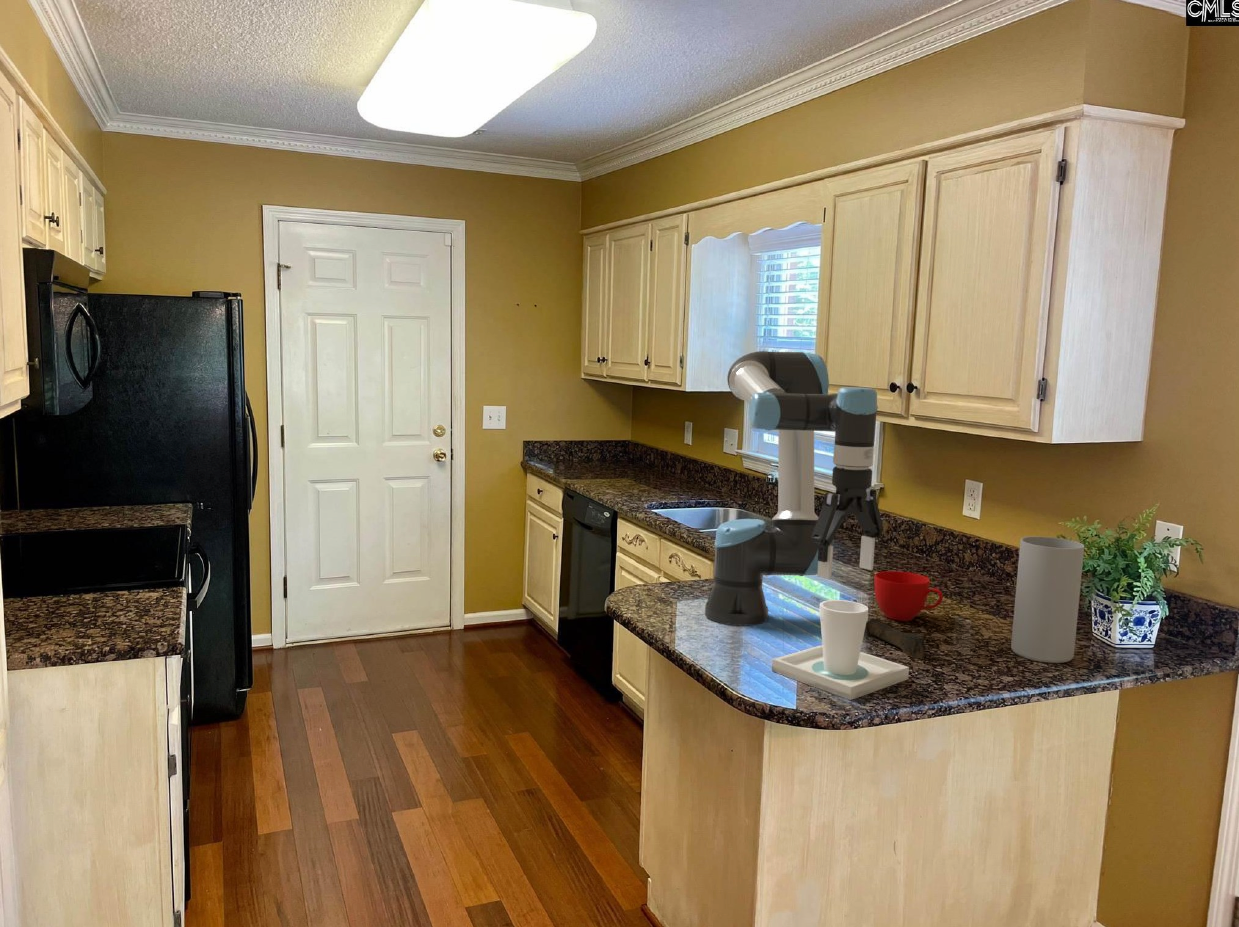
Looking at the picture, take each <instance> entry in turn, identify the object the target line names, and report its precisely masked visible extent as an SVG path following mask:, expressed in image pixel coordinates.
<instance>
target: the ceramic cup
mask: <svg viewBox="0 0 1239 927" xmlns="http://www.w3.org/2000/svg"><path fill="white" fill-rule="evenodd" d="M930 580H931V579H929V577H927V576H924V575H922V574H918V573H914V572H913V573H912V572H907V571H899V570H898V571H897V570H889V571H887V570H886V571H879V572H876V573H875V574H874V594H875V600H876V603H877V605H878V607H879V608H880V610H881V612H882V613H883V614H884V616H885V617H886V618H887V619H890V620H894V621H901V622H907V621H913V620H914V618H915V617H917V616H918V615H919V613H920V612H921V611H924V610H929V609H930V610H931V609H934V608H936V607H938V606H939V605H941V604H942V602H943V599H944V594H943V592H942V591H941V590H940V589H938V588H934V587H932V588H930V585H931V581H930ZM932 592H934V593H936V594H938V600H937V602H936V603H934V604H931V605H926V603H927V599H928V595H929V594H931V593H932Z"/></svg>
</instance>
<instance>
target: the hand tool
mask: <svg viewBox="0 0 1239 927" xmlns="http://www.w3.org/2000/svg"><path fill="white" fill-rule="evenodd" d="M865 631H866V634H867V635H870V636H871V637H876V638H877V639H878V638H879V639H881V640H883V641H885V642H887V643H888V644H889V643H890V644H891V645H893V646H896V647H897V648H899V649H901V650H902V653H903V654H905V655H907V656H910V657H913V658H916V659H920V660H925V657H926V650H927V647H926V644H925V643H926V642H925V639H924V638H923V637H922V636H919V635H918V634H916V633H913V632H906V633H905V632H902V631H900V630H898V629H896V628H894V627H891V626H890V625H889V624H886V623H884V622H882V621H881V620H880V619H877V618H870V619H868V621H867V622H866V626H865Z"/></svg>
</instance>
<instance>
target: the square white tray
mask: <svg viewBox="0 0 1239 927" xmlns="http://www.w3.org/2000/svg"><path fill="white" fill-rule="evenodd" d="M771 660H772V661H771V662H772V663H771V672H773V673H776V674H779V675H781V676H784V677H787V678H789V679H792V680H795V681H798V682H800V683H803V684H806V685H809V686H811V687H814V688H817V689H819V690H822V691H824V692H827V693H829V694H833V695H836V696H837V697H841V698H843V699H845V700H849V701H852V700H855V699H858V698H859V697H863V696H866V695H868V694H871V693H874V692H877V691H881V690H883V689H885V688H888V687H890V686H893V685H897V684H900V683H902V682H904V681H906V680H909V673H910V672H909V671H910V666H906V665H903V664H900V663H897V662H894V661H891V660H887V659H885V658H882V657H878V656H875V655H872V654H869V653H866V652H862V651H860V656H859V660H858V665H857V669H856V672H855V673H854V674H850V675H839V674H833V673H830V672H827V671H826V670H825V669H824V662H823V648H822V644H821V645H817V646H813V647H809V648H806V649H804V650H800V651H796V652H793V653H789V654H786V655H781V656H779V657H775V658H772V659H771Z"/></svg>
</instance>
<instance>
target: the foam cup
mask: <svg viewBox="0 0 1239 927" xmlns="http://www.w3.org/2000/svg"><path fill="white" fill-rule="evenodd" d="M818 612H819V613H818V614H819V615H818V616H819V618H820V631H821V645H822V648H823V662H824V669H825V670H826V671H827V672H830V673H833V674H839V675H850V674H854V673H855V672H856V669H857V665H858V660H859V656H860V652H862V651H861V650H862V647H863V646H862V645H863V641H864V635H865V631H866V622H868V621H869V618H868V617H869V608H868V605H867V606H866V605H865V604H863V603H860V602H857V601H854V600H853V601H852V600H845V599H829V600H824V601H821V602H820V603H819V610H818Z"/></svg>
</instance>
